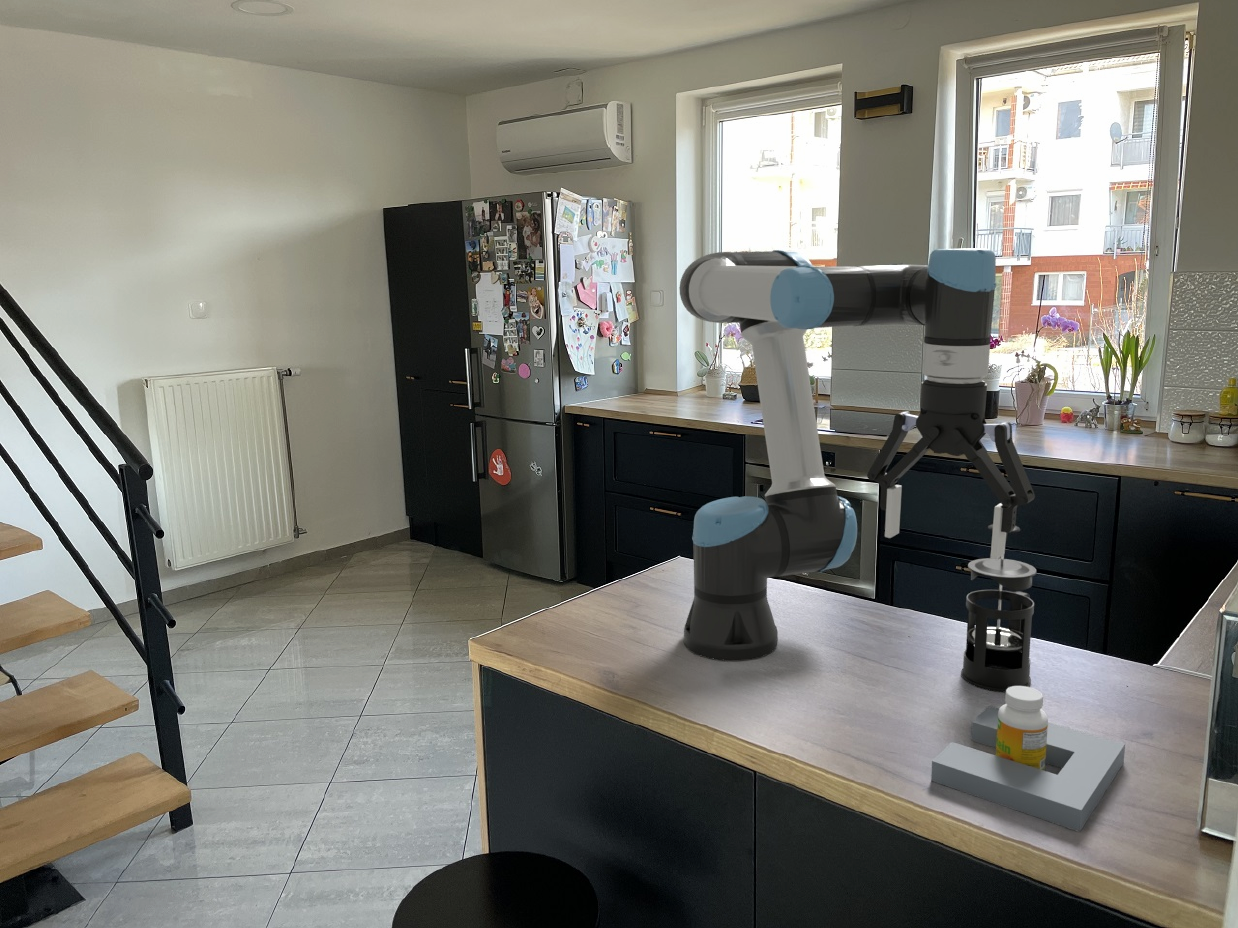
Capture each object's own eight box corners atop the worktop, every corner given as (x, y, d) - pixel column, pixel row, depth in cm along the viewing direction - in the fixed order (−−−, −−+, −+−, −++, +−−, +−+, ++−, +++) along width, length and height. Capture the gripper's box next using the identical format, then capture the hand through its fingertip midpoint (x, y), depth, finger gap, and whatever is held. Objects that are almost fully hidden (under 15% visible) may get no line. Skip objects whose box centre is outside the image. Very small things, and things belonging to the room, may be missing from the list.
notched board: (931, 780, 106) (932, 760, 105) (987, 723, 119) (988, 705, 118) (1079, 831, 95) (1081, 810, 95) (1123, 762, 109) (1125, 743, 108)
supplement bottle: (986, 759, 110) (990, 684, 108) (1029, 756, 111) (1034, 681, 109) (1008, 782, 105) (1013, 704, 103) (1053, 779, 105) (1059, 701, 104)
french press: (1004, 699, 125) (1014, 539, 121) (945, 677, 133) (951, 525, 129) (1050, 677, 132) (1060, 523, 128) (991, 657, 140) (999, 511, 135)
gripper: (845, 374, 116) (839, 533, 121) (1053, 391, 100) (1036, 574, 104) (872, 368, 121) (865, 520, 126) (1073, 383, 105) (1056, 557, 110)
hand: (942, 545), depth 115 cm, fingers open, 13 cm apart
